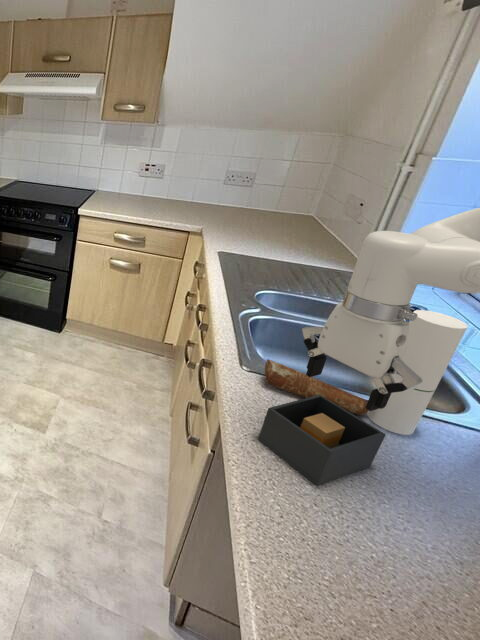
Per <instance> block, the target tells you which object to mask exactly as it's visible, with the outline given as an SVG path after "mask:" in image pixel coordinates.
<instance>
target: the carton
mask: <svg viewBox="0 0 480 640" xmlns="http://www.w3.org/2000/svg"><path fill="white" fill-rule="evenodd" d="M300 428H301V429H302V430H304V431H305V432H307V433H308V434H309V435H311V436H312V437H314V438H315V439H317V440H318V441H319V442H321V443H322V444H324V445H325V446H327V447H328V448H330V449H331V448H334V447H337V445H338V443H339V441H340V439H341V437H342V434H343V432H344V429H345V427H344V426H342V425H341V424H339V423H337V422H336V421H334V420H333V419H331V418H330V417H328V416H326V415H325V414H323V413H320V414H317V415H313V416H310V417H306V418H304V419H303V422H302V424H301V427H300Z"/></svg>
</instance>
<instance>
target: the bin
mask: <svg viewBox="0 0 480 640" xmlns="http://www.w3.org/2000/svg"><path fill="white" fill-rule="evenodd" d="M320 413H323V414H325V415H326V416H328V417H330V418H331V419H333V420H334V421H336V422H337V423H339V424H341V425H342V426H344V427H345V429H344V432H343V434H342V437H341V439H340V441H339V443H338V445H337V447H334V448H331V449H330V448H328V447H327V446H325V445H324V444H322V443H321V442H319V441H318V440H317V439H315V438H314V437H312V436H311V435H309V434H308V433H307V432H305V431H304V430H302V429H301V428H300V427H301V424H302V422H303V419H304V418H306V417H310V416H313V415H317V414H320ZM260 428H261V429H260V432H259V434H258V437H257V440H258V441H259V442H261V443H262V444H263V445H265V446H266V447H267V448H268V449H269V450H271V451H272V452H273V453H275V454H276V455H277V456H278V457H280V458H281V459H282V460H283V461H285V462H286V463H287V464H288V465H290V466H291V467H292V468H294V469H295V470H296V471H297V472H298V473H300V474H301V475H302V476H304V478H306V479H307V480H308V481H310V482H311V483H312V484H313V485H315V486H320V485H323V484H326V483H329V482H332V481H334V480H337V479H340V478H343V477H346V476H348V475H351V474H354V473H357V472H360V471H362V470H365V469H368V468H370V467H371V466H372V464H373V462H374V460H375V458H376V456H377V453H378V452H379V450H380V448H381V445H382V444H383V441H384V439H385V437H386V433H385V432H383V431H381V430H380V429H378V428H376V427H375V426H373V425H372V424H370V423H368V422H367V421H365V420H363V419H361V418H360V417H358V416H357V415H355V414H354V413H352V412H349V411H347V410H345V409H343V408H342V407H340V406H338V405H337V404H335V403H333V402H332V401H330V400H328V399H327V398H325V397H323V396H322V395H316V396H312V397H308V398H306V397H303V398H300V399H297V400H293V401H289V402H286V403H283V404H279V405H275V406H271V407H268V408H267V412H266V415H265V417H264V421H263V423H262V426H261V427H260Z"/></svg>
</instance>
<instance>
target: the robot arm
mask: <svg viewBox="0 0 480 640" xmlns="http://www.w3.org/2000/svg"><path fill="white" fill-rule="evenodd" d="M418 285H423V286H427V287H434V288H437V289H442V290H446V291H451V292H456V293H461V294H480V207H477V208H473V209H469V210H466V211H462V212H459V213H456V214H454V215H451V216H448V217H445V218H443V219H440V220H437V221H434V222H431V223H429V224H426V225H424V226H421V227H420V228H418V229H416V230H414V231H412V232H411V233H407V232H401V231H396V230H394V231H393V230H377V231H373V232H370V233H369V234H368V235H367V236H366V237H365V238H364V240H363V242H362V245H361V247H360V251H359V254H358V257H357V260H356V263H355V265H354V269H353V272H352V274H351V277H350V280H349V283H348V286H347V288H346V291H345V294H344V298H343V300H342V301H340V302H338V303H337V304H336V306H335V307H334V308H333V310H332V311H331V313H330V314H329V316H328V317H327V320H326V322H325V323H324V326H305V327H302V328H301V333H302V336H303V338H304V339H303V344H304V345H305V347H306V349H307V355H308V356H309V358H308V362H307V365H306V373H305V374H306V375H307V376H309V377H313V378H314V377H316V376H320V375H322V372H323V370H324V367H325V364H326V361H327V359H328V358H327V356H328V357H330V358H332V359H333V360H336V361H338V362H340V363H342V364H343V365H346V366H348V367H350V368H352V369H354V370H356V371H358V372H360V373H362V374H364V375H366V376H369V377H371V379H372V381H373V383H374V385H375V387H376V388H375V389H372V390H371V392H370V394H369V398H368V400H367V405H366V407H365V408H366V409H367V410H368V411H373V410H376V409H379V408H380V409H382V408H384V407H385V406H386V405H387V402H388V400H389V398H390V395H391V393H394V392H402V391H405V390H408V389H410V388H412V387H414V386H416V385H418V384H420V383H422V379H421V378H420V377H419V376H418V375H417V374H416V373H415V372H414V371H413V370H411V369H410V368H409V367H408V366H407V365H406V364H405V363H404V362H403V361H402V360H403V357H404V353H405V350H406V345H407V340H408V333H409V321H414V320H415V319H416V318H417V314H416V313H413V312H414V311H412V310H410V308H411V306H412V305H411V304H410V303H411V302H412V301H411V300H412V299H413V296H414V294H415V291H416V289H417V287H418ZM315 335H318V336H319V337H318V340H317V339H316V338H315V337H316V336H315ZM397 372H398V373H399V374H400V375H401V376H402V377H403V381H401V382H399V383H395V381H394V379H393V377H392V375H391V374H395V373H397Z"/></svg>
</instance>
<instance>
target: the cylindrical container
mask: <svg viewBox="0 0 480 640" xmlns="http://www.w3.org/2000/svg"><path fill="white" fill-rule="evenodd" d="M412 312H413V313H416V314H417V318H416V319H415V320H414V321H410V320H408V323H409V333H408V340H407V345H406V350H405V353H404V357H403V360H402V361H403V362H404V363H405V364H406V365H407V366H408V367H409V368H410V369H411V370H413V371H414V372H415V373H416V374H417V375H418V376H419V377H420V378H421V379H422V383H420V384H418V385H416V386H414V387H412V388H410V389H408V390H405V391H402V392H394V393H391V395H390V398H389V400H388V402H387V405H386V406H385V407H384V408H382V409H380V408H379V409H376V410H373V411H369V410H368V412H367V417H368V418H369V420H370V421H371V422H372V423H374V424H376V425H377V426H379V427H380V428H382V429H384V430H386V431H388V432H391V433H394V434H398V435H404V436H410V435H413V434H414V433H415V430H416V429H417V427H418V426H419V425H418V424H419V423H420V421H421V419H422V417H423V415H424V414H425V411H426V409H427V407H428V405H429V403H430V401H431V399H432V397H433V395H434V394H435V392H436V390H437V388H438V386H439V384H440V383H441V380H442V378H443V376H444V374H445V372H446V370H447V368H448V366H449V364H450V363H451V360H452V358H453V356H454V355H455V352H456V350H457V349H458V347H459V345H460V343H461V341H462V339H463V337H464V335H465V334H466V331H467V330H468V327H469V326H468V323H466V322H464V321H462V320H460V319H458V318H456V317H453V316H451V315H448V314H444V313H441V312H438V311H437V312H436V311H431V310H424V309H417V310H416V309H415V310H414V311H412ZM391 375H392V377H393V379H394V381H395V383H399V382H401V381H403V377H402V376H401V375H400V374H399V373H398V372H397V373H395V374H391Z"/></svg>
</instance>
